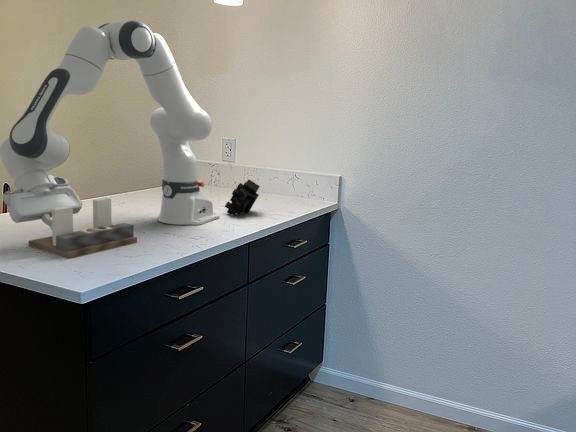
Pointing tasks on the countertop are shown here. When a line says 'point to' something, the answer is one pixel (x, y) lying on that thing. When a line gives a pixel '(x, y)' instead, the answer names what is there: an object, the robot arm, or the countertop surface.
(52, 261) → the countertop surface
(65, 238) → the console
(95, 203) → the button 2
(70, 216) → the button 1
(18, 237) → the countertop surface
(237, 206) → the toy
